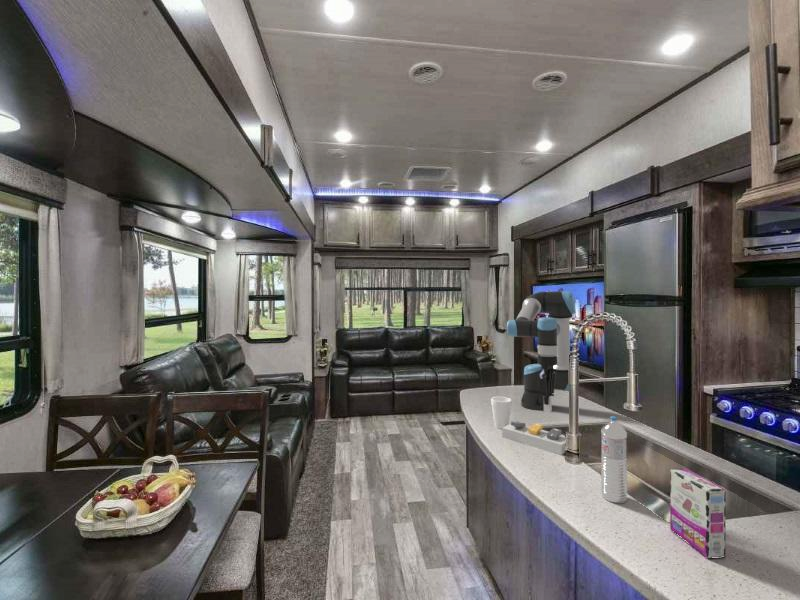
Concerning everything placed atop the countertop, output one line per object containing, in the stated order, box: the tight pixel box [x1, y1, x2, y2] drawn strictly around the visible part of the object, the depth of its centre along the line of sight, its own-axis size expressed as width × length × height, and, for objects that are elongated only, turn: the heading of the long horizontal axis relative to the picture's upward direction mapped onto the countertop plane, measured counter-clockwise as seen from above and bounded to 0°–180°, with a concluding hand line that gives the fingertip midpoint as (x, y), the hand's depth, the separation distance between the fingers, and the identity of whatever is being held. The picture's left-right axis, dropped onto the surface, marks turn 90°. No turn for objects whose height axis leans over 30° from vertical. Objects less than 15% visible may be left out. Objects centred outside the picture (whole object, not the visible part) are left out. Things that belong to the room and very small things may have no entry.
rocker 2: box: [547, 427, 563, 440], centre depth 150 cm, size 6×4×2 cm, turn 133°
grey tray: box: [501, 423, 589, 458], centre depth 153 cm, size 10×34×5 cm, turn 43°
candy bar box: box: [669, 468, 727, 559], centre depth 92 cm, size 11×5×16 cm, turn 5°
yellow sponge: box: [528, 422, 544, 435], centre depth 156 cm, size 6×4×2 cm, turn 133°
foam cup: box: [490, 396, 512, 430], centre depth 175 cm, size 10×9×13 cm
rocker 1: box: [510, 421, 526, 427], centre depth 162 cm, size 6×4×2 cm, turn 134°
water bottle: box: [600, 415, 628, 504], centre depth 113 cm, size 7×7×25 cm
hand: (547, 411), depth 153 cm, fingers closed
